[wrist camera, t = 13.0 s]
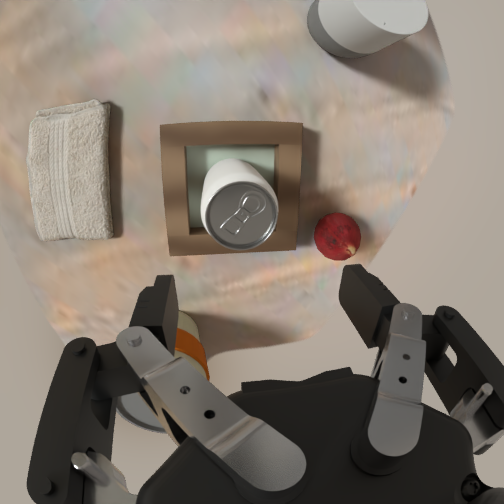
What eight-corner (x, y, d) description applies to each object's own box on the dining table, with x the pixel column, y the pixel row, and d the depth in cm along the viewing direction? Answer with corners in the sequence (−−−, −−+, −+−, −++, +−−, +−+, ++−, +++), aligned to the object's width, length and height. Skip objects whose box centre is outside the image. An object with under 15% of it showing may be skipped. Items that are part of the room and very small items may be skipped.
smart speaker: (312, -10, 23) (360, -58, 11) (373, 21, 25) (439, -6, 13) (292, 44, 27) (339, 4, 14) (358, 73, 29) (428, 59, 16)
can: (270, 181, 33) (299, 211, 22) (235, 221, 34) (246, 269, 24) (228, 146, 30) (236, 157, 20) (192, 189, 32) (182, 224, 21)
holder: (165, 124, 29) (160, 124, 26) (293, 122, 31) (302, 123, 28) (173, 244, 36) (169, 256, 33) (288, 238, 38) (295, 250, 34)
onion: (298, 236, 38) (319, 264, 30) (319, 198, 36) (345, 218, 28) (333, 251, 39) (357, 280, 32) (353, 215, 37) (382, 238, 30)
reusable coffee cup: (211, 358, 45) (216, 434, 32) (139, 357, 43) (125, 431, 30) (208, 297, 40) (209, 379, 26) (123, 297, 38) (94, 375, 25)
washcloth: (113, 97, 27) (104, 95, 24) (118, 235, 35) (111, 245, 32) (36, 111, 25) (24, 112, 23) (47, 237, 33) (37, 245, 30)
